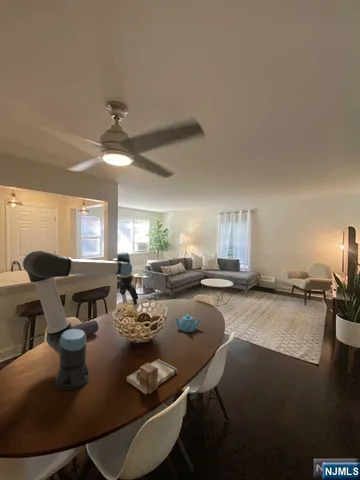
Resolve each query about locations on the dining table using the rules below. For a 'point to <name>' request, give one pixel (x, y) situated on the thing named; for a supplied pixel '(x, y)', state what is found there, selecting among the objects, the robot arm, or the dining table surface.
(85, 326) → the bluetooth speaker
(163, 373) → the board
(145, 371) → the brown rectangular block
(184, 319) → the teapot
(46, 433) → the dining table surface
